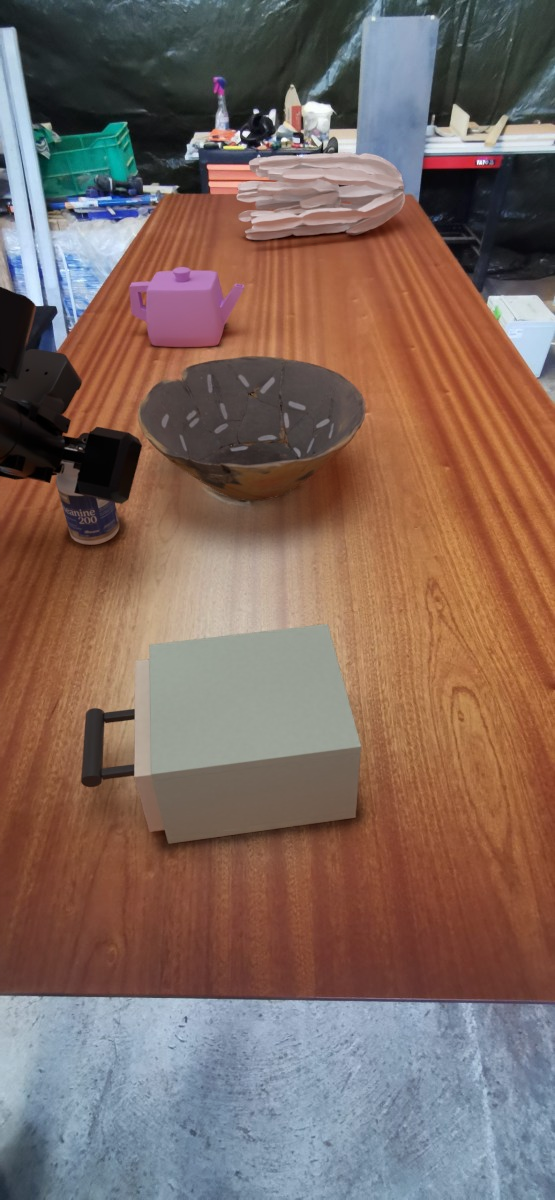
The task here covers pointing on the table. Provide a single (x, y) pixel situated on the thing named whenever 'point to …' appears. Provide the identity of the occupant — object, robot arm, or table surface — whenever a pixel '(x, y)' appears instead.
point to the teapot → (183, 307)
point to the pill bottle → (85, 511)
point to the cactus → (320, 194)
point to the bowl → (252, 422)
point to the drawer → (142, 747)
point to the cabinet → (251, 733)
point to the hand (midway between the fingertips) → (90, 473)
